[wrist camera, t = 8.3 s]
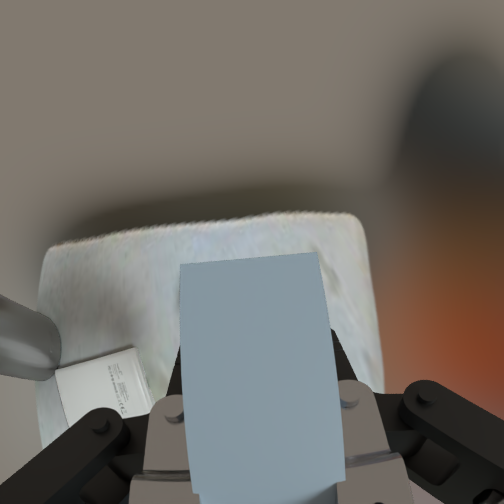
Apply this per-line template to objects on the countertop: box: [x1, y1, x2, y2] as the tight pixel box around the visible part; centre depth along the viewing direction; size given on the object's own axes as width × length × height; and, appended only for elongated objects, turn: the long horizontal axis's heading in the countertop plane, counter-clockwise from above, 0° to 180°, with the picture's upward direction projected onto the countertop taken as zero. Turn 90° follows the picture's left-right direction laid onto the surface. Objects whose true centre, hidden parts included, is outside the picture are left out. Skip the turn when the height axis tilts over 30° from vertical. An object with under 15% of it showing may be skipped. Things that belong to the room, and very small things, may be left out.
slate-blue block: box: [180, 252, 346, 504], centre depth 9 cm, size 2×5×11 cm, turn 5°
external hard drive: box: [55, 347, 155, 428], centre depth 25 cm, size 2×8×12 cm
